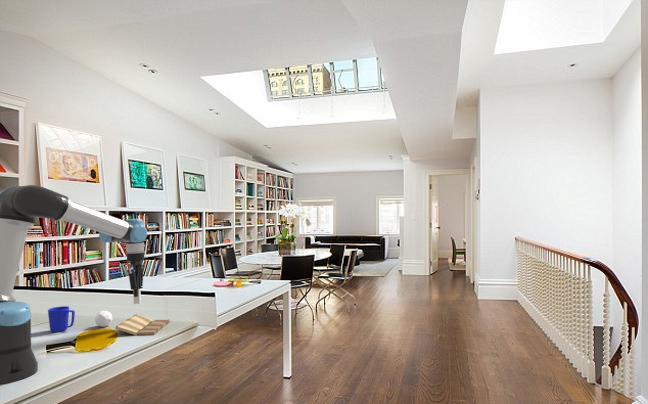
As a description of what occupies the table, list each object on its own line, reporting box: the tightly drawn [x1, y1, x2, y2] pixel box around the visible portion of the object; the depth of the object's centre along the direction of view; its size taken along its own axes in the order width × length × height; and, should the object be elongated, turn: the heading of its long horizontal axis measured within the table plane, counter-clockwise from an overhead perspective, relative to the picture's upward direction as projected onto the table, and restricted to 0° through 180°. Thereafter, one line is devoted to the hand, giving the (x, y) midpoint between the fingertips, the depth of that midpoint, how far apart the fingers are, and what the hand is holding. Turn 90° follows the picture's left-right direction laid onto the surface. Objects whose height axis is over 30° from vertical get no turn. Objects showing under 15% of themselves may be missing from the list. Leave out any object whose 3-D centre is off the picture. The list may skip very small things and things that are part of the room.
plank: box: [115, 313, 155, 336], centre depth 193 cm, size 20×9×1 cm, turn 1°
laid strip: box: [136, 319, 171, 336], centre depth 193 cm, size 20×8×1 cm, turn 1°
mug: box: [47, 305, 76, 333], centre depth 194 cm, size 8×12×10 cm
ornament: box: [94, 310, 113, 328], centre depth 199 cm, size 7×7×8 cm
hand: (137, 303), depth 198 cm, fingers closed
